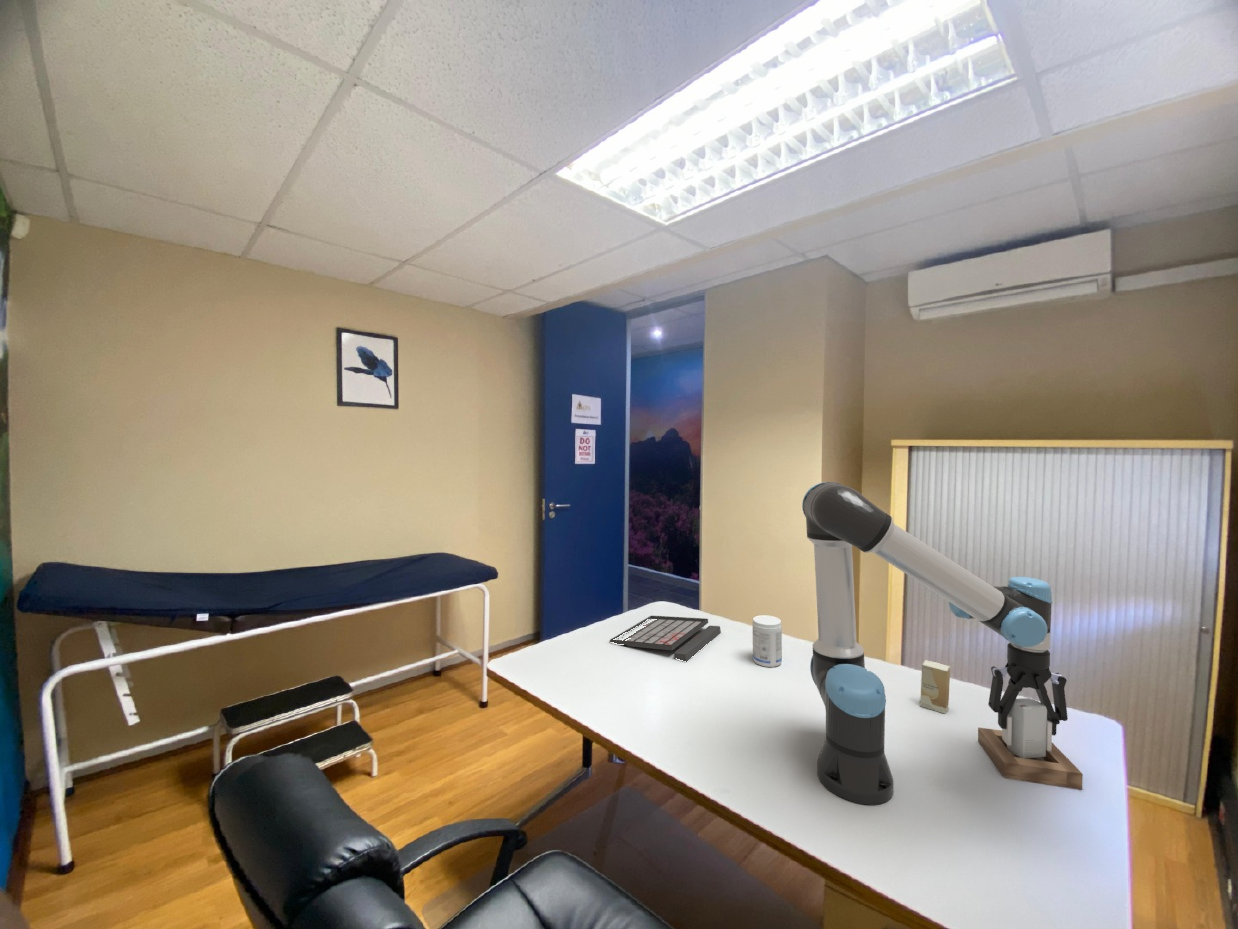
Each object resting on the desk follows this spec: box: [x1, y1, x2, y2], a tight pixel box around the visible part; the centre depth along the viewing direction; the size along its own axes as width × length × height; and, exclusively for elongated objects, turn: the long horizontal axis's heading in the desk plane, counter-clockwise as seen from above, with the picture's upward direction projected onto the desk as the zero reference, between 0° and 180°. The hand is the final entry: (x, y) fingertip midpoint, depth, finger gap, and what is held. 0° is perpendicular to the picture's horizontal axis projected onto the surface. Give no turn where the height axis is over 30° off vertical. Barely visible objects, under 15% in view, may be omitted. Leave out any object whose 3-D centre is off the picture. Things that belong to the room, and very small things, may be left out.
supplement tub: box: [752, 614, 783, 668], centre depth 167 cm, size 10×10×15 cm
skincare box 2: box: [1007, 697, 1047, 758], centre depth 113 cm, size 6×4×12 cm
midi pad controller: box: [609, 615, 722, 663], centre depth 190 cm, size 32×7×31 cm
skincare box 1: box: [919, 659, 951, 714], centre depth 137 cm, size 6×4×12 cm
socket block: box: [977, 727, 1084, 791], centre depth 113 cm, size 14×14×4 cm
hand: (1026, 744), depth 113 cm, fingers closed on skincare box 2, 7 cm apart
